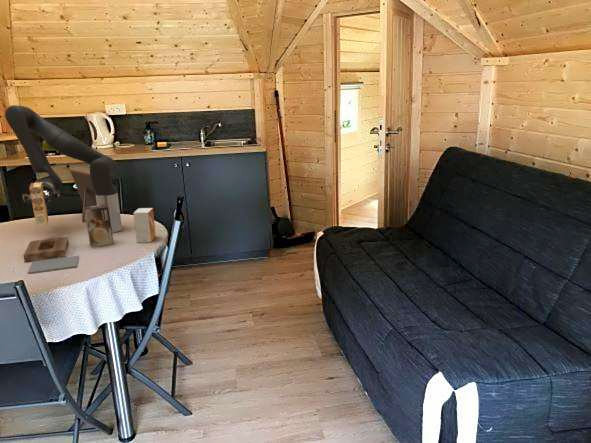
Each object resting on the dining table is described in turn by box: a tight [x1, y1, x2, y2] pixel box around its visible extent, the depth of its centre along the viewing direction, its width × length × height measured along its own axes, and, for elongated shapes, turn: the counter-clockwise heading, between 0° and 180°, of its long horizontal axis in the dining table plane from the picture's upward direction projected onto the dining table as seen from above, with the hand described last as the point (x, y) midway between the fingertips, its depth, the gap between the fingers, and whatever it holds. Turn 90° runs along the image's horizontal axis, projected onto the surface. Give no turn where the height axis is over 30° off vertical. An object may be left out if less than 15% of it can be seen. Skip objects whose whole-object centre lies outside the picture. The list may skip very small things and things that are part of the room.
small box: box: [132, 207, 157, 243], centre depth 203 cm, size 8×6×13 cm
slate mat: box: [27, 255, 80, 275], centre depth 177 cm, size 16×12×1 cm
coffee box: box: [84, 204, 115, 248], centre depth 198 cm, size 9×6×16 cm
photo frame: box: [69, 165, 97, 223], centre depth 239 cm, size 15×22×25 cm
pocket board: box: [23, 236, 70, 263], centre depth 191 cm, size 14×18×3 cm
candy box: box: [29, 182, 49, 227], centre depth 184 cm, size 9×4×15 cm, turn 25°
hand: (38, 201), depth 183 cm, fingers closed on candy box, 4 cm apart
